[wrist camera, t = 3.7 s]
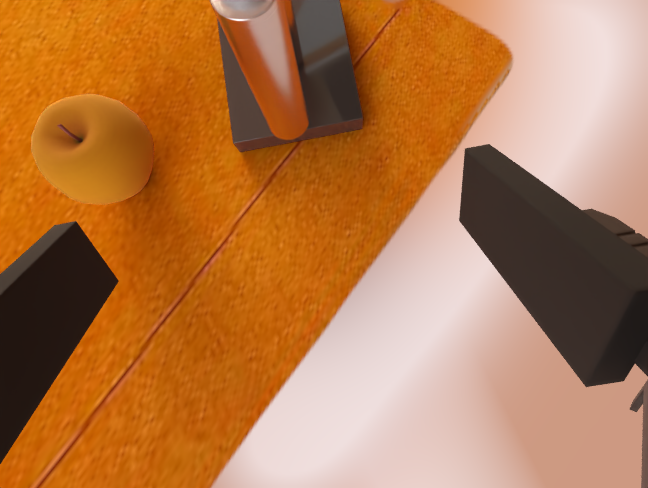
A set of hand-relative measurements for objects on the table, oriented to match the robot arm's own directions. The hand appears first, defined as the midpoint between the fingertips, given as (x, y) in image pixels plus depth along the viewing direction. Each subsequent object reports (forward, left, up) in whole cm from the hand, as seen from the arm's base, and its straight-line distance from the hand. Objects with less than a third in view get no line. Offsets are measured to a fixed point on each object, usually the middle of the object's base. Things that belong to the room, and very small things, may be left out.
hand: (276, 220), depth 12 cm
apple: (+20, -1, -19) cm, 28 cm away
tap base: (+10, -16, -19) cm, 27 cm away
